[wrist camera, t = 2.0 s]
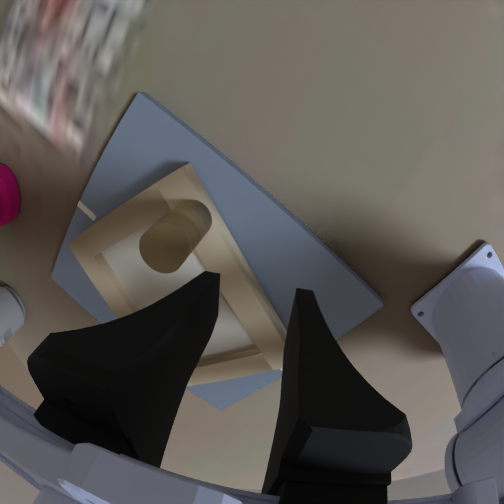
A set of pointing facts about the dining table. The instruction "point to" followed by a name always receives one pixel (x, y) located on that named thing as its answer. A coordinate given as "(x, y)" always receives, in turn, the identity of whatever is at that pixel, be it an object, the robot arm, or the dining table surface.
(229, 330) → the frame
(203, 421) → the dining table surface
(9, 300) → the energy drink can
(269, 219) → the board
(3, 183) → the pepper mill
